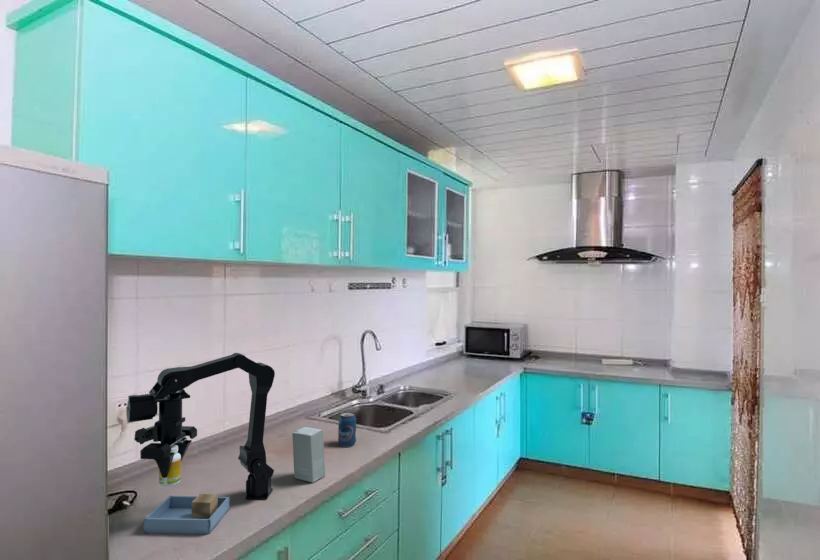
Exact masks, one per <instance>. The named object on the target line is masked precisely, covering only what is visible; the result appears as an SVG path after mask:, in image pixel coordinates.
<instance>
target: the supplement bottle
mask: <svg viewBox="0 0 820 560" xmlns="http://www.w3.org/2000/svg"><path fill="white" fill-rule="evenodd" d="M177 452H178V445H172V446H171V452H170V453H175V454H174V457H173V460H172V463H171V467H170V470H169V473H168V476H167V477H166V478H163V477H162V475H161V473H160V470H159V469H158V484H159V486H161V487H171V486H175V485H177V484H179V483H180V482H181V481H182V461H181V455H180V454H179V453H177Z"/></svg>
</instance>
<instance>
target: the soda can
mask: <svg viewBox="0 0 820 560" xmlns="http://www.w3.org/2000/svg"><path fill="white" fill-rule="evenodd" d="M337 422H338V424H337V425H338V428H337V429H338V431H337V432H338V434H337V435H338V437H337V443H338V444H339V446H340V447H342V448H350V447H351V448H352V447H354V446H355V444H356V442H357V416H356V413H354V412H352V411H351V412H349V411H347V412H342V413H340V414H339V417H338V421H337Z"/></svg>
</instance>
